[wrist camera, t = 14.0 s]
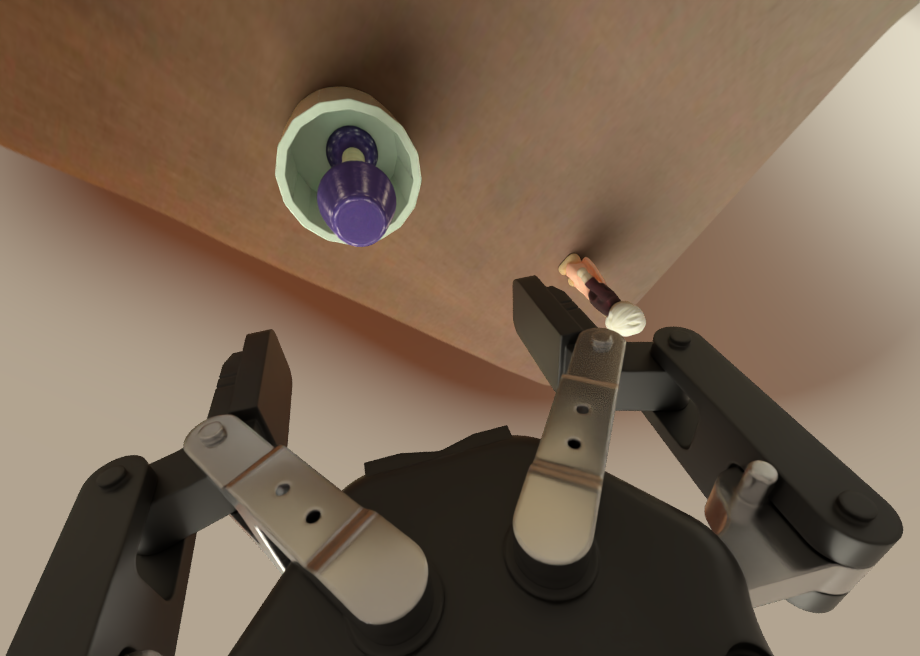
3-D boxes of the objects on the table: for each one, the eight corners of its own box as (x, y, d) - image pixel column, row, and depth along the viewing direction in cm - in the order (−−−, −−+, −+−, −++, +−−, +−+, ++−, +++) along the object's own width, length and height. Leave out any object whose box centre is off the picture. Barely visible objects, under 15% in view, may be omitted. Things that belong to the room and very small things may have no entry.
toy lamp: (347, 193, 38) (362, 277, 25) (305, 150, 36) (296, 220, 22) (388, 155, 37) (425, 222, 24) (348, 108, 35) (364, 155, 21)
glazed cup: (268, 94, 34) (253, 111, 26) (391, 79, 35) (409, 90, 28) (304, 214, 39) (301, 255, 32) (409, 196, 41) (428, 231, 33)
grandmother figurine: (603, 272, 51) (672, 330, 41) (579, 296, 52) (641, 359, 42) (564, 235, 47) (630, 291, 37) (539, 262, 48) (597, 323, 38)
